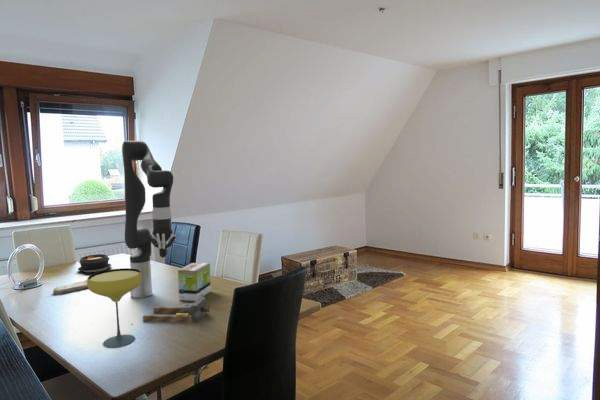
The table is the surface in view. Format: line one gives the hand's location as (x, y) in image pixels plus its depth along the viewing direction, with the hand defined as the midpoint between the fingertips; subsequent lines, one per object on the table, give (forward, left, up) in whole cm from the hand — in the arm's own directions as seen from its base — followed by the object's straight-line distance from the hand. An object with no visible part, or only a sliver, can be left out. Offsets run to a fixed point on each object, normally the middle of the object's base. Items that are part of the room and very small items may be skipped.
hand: (163, 256), depth 183 cm
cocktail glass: (-5, -31, -24) cm, 40 cm away
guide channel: (+8, -7, -24) cm, 27 cm away
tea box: (+5, +21, -24) cm, 33 cm away
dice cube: (+12, -6, -25) cm, 28 cm away
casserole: (-76, +68, -24) cm, 104 cm away
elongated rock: (-59, +35, -25) cm, 73 cm away
